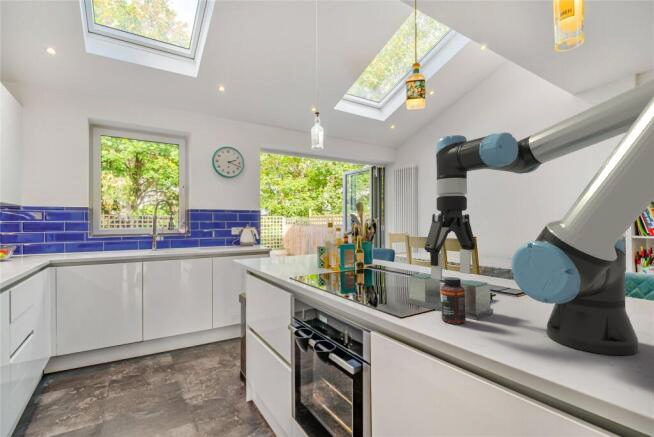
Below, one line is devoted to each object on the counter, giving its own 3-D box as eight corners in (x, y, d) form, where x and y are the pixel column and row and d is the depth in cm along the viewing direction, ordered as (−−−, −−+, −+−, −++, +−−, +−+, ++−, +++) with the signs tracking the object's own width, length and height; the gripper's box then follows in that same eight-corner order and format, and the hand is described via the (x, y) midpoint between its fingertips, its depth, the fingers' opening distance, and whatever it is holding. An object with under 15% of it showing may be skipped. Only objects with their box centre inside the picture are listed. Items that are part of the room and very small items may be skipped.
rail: (493, 314, 89) (492, 282, 89) (476, 320, 83) (476, 286, 83) (424, 298, 107) (423, 272, 107) (407, 303, 102) (406, 275, 102)
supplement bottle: (467, 320, 84) (466, 277, 84) (463, 326, 79) (463, 281, 79) (443, 316, 87) (443, 275, 87) (438, 322, 82) (438, 278, 82)
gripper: (463, 198, 94) (463, 269, 94) (409, 194, 79) (410, 279, 79) (488, 197, 88) (488, 272, 88) (436, 192, 73) (436, 283, 73)
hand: (451, 276), depth 83 cm, fingers open, 13 cm apart
